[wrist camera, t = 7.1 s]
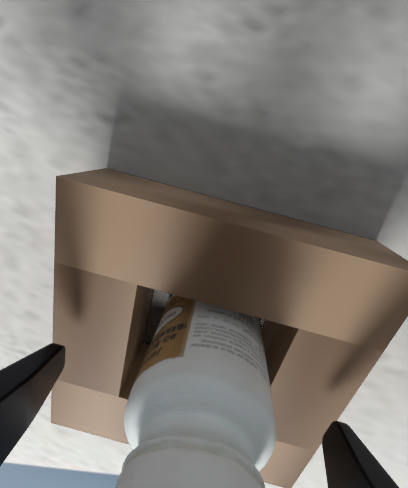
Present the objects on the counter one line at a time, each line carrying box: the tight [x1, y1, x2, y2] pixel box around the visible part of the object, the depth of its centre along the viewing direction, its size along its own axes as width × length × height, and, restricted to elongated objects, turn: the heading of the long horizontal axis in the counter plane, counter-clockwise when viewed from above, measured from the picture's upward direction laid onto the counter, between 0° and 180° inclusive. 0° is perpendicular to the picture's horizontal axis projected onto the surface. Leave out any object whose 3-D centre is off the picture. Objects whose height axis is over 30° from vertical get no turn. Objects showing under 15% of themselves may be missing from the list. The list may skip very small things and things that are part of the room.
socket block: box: [51, 168, 408, 488], centre depth 10 cm, size 11×11×4 cm
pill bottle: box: [115, 295, 276, 488], centre depth 8 cm, size 4×4×8 cm
